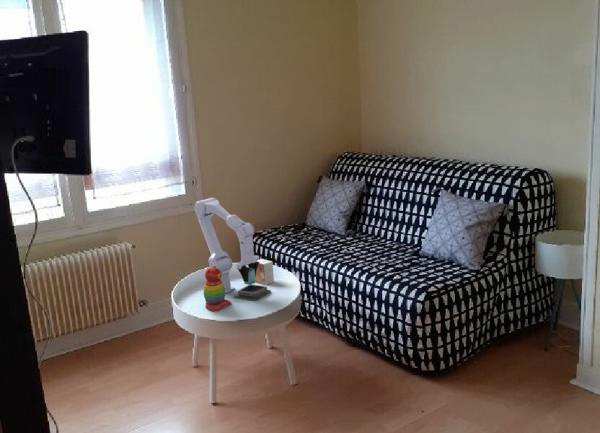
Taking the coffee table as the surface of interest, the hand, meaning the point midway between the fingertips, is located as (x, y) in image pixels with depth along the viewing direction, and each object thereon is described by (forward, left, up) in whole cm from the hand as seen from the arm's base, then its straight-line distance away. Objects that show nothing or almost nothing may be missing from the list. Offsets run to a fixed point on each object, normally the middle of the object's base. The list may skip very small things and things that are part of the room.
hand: (249, 279), depth 272 cm
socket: (-1, +2, -8) cm, 9 cm away
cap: (0, 0, -1) cm, 1 cm away
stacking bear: (-8, -15, -9) cm, 19 cm away
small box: (-6, +19, -9) cm, 22 cm away
